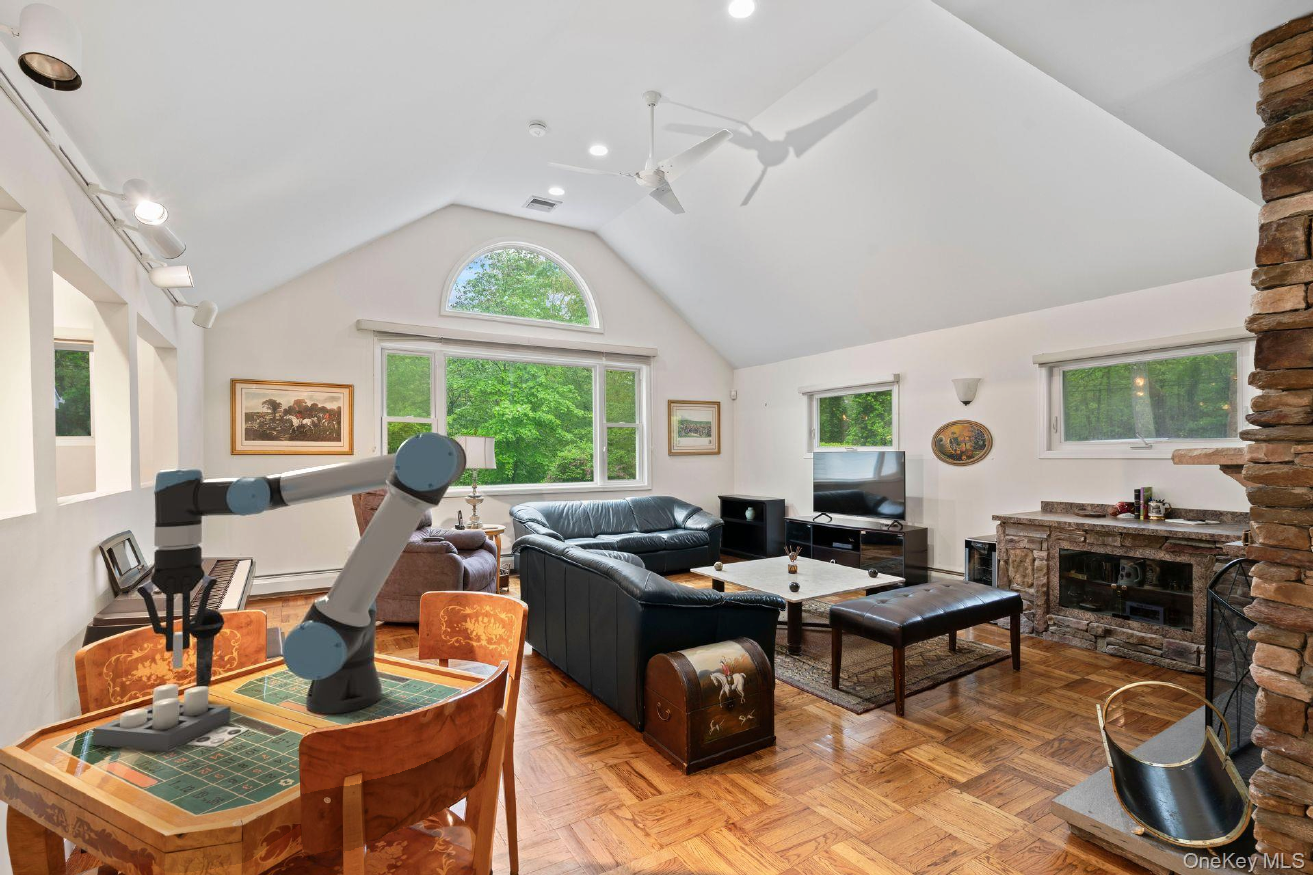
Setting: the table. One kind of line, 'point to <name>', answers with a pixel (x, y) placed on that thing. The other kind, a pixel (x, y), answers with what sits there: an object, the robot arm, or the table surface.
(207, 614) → the microphone
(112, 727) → the button board
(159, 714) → the button
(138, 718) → the button
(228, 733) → the card
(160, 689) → the button
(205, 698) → the button
